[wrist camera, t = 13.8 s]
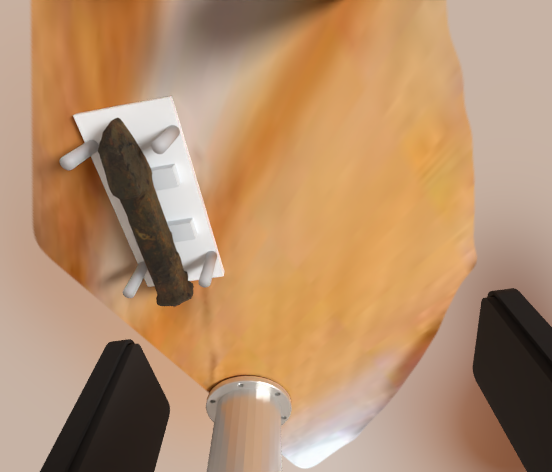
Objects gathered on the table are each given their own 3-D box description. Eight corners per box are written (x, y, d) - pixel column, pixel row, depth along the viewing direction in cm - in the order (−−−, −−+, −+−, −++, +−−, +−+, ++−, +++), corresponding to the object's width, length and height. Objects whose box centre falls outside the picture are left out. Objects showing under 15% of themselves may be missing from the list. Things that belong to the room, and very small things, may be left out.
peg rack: (224, 272, 43) (217, 304, 38) (149, 282, 44) (133, 316, 39) (171, 95, 34) (153, 108, 29) (76, 113, 34) (43, 128, 29)
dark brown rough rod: (197, 283, 42) (189, 311, 38) (163, 287, 42) (151, 315, 38) (150, 112, 33) (133, 125, 29) (106, 118, 33) (83, 131, 29)
